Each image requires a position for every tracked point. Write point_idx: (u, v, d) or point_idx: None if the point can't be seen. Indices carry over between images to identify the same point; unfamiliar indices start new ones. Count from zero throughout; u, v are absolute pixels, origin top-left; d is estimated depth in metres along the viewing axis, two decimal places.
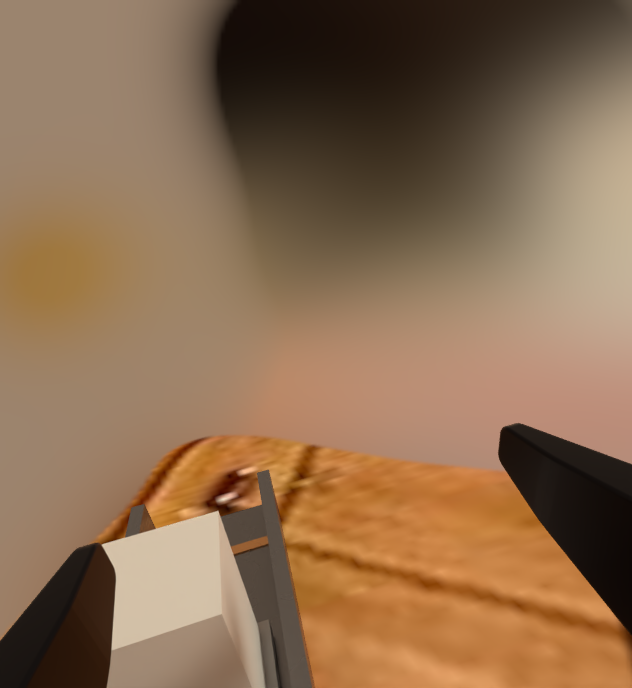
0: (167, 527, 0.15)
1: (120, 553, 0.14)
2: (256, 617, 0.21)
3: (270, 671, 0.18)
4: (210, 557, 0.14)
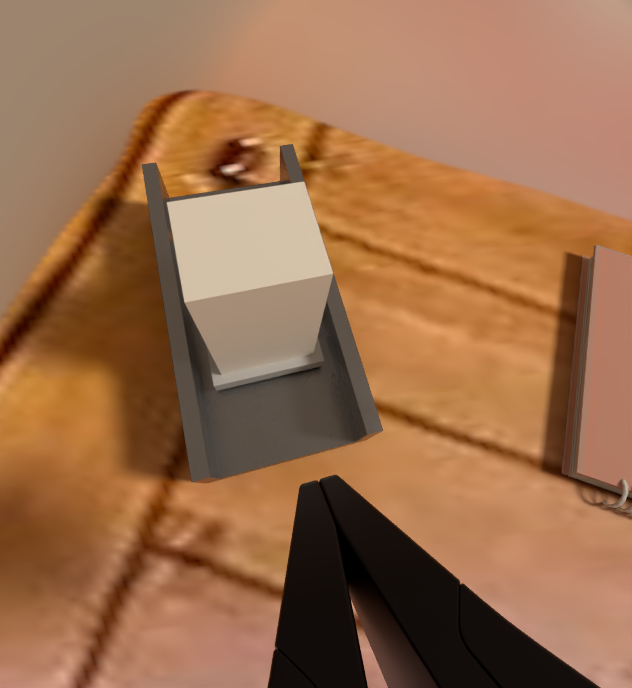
0: (253, 191, 0.14)
1: (211, 211, 0.14)
2: None
3: None
4: (309, 225, 0.14)
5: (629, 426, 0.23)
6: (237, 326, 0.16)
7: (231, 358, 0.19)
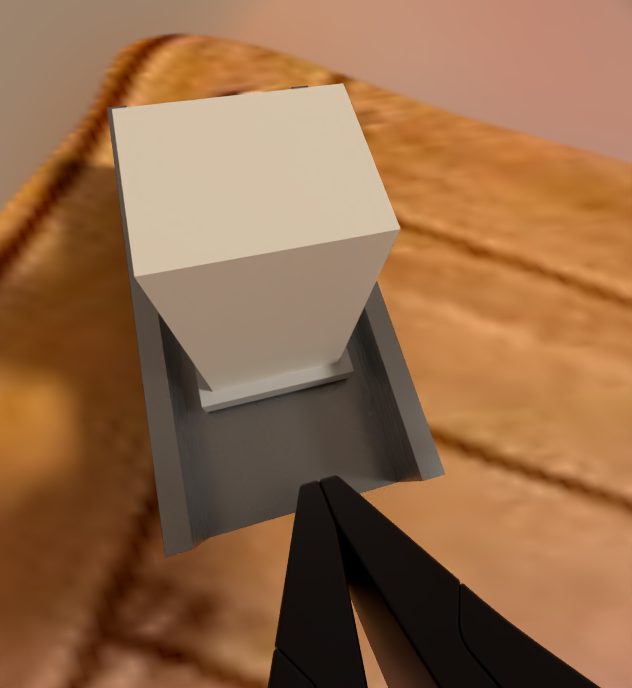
0: (259, 95, 0.09)
1: (187, 124, 0.08)
2: None
3: None
4: (354, 151, 0.08)
5: None
6: (234, 322, 0.10)
7: (225, 369, 0.13)
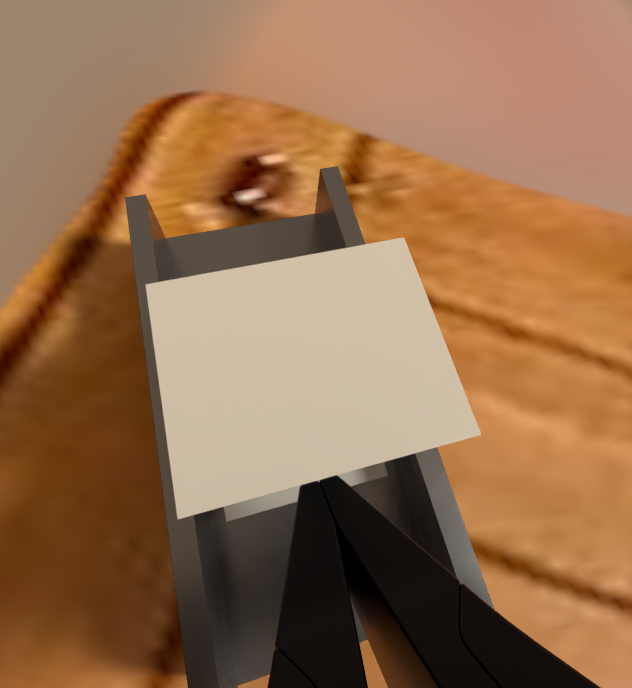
0: (311, 258, 0.08)
1: (231, 301, 0.07)
2: None
3: None
4: (421, 328, 0.07)
5: None
6: None
7: None
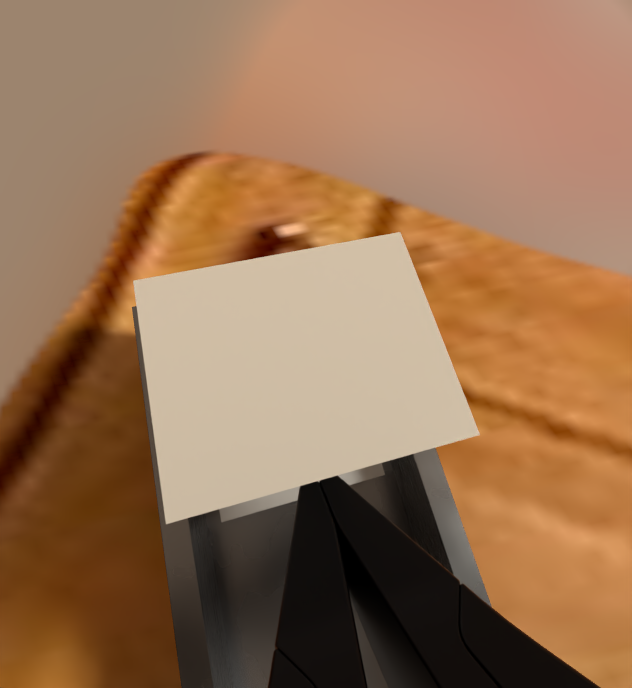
0: (304, 253, 0.07)
1: (222, 297, 0.07)
2: None
3: None
4: (418, 325, 0.07)
5: None
6: None
7: None
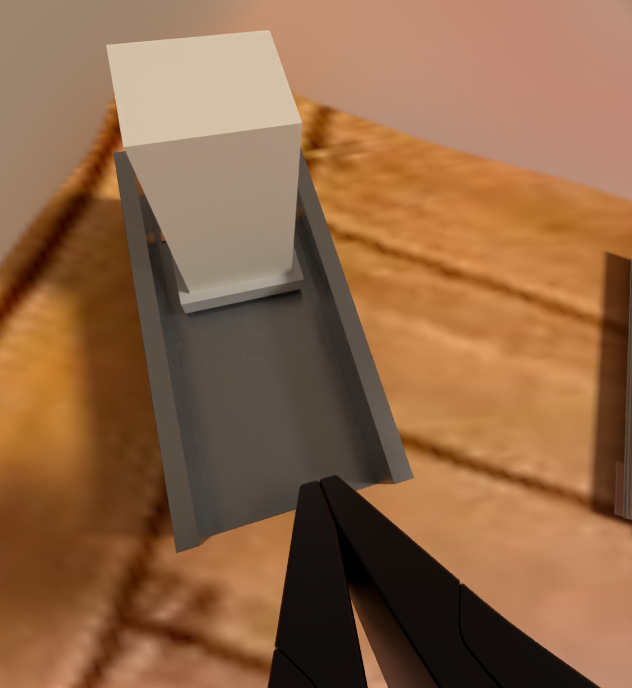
0: (209, 37, 0.12)
1: (158, 55, 0.12)
2: None
3: None
4: (274, 74, 0.12)
5: None
6: (197, 206, 0.14)
7: (197, 264, 0.17)
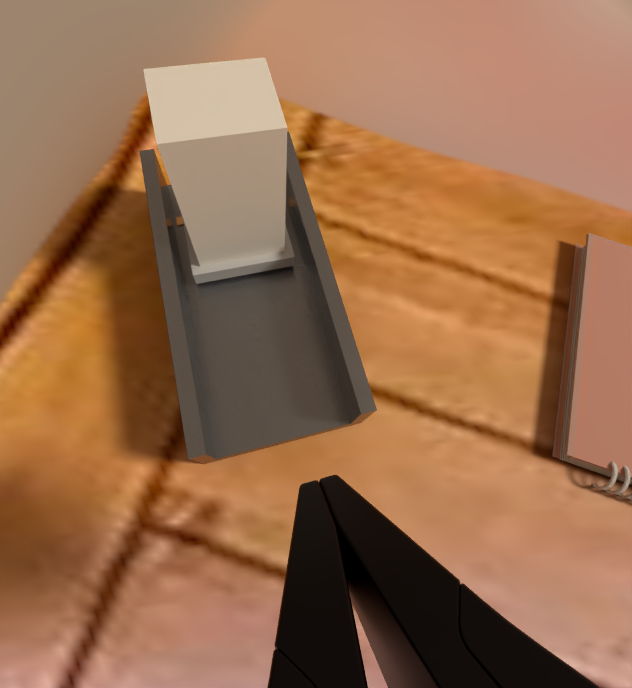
0: (219, 63, 0.16)
1: (181, 76, 0.16)
2: None
3: None
4: (267, 91, 0.16)
5: (619, 410, 0.23)
6: (208, 191, 0.18)
7: (206, 240, 0.21)
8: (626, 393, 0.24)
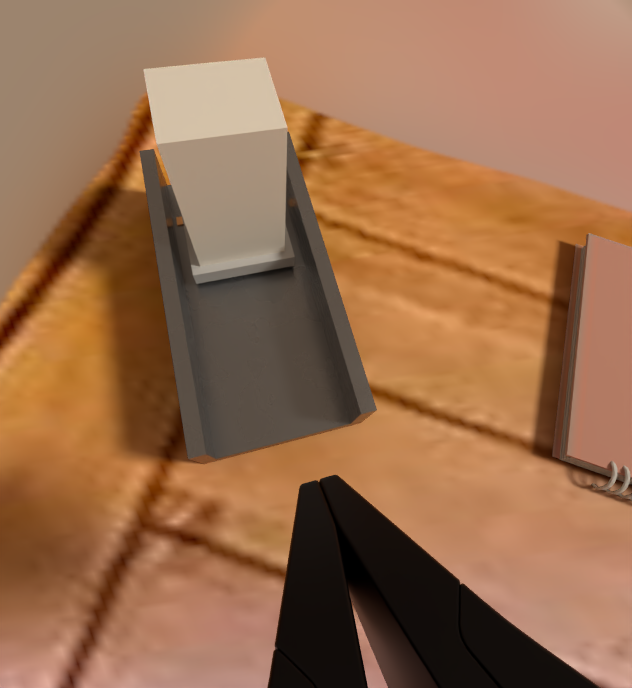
0: (219, 63, 0.16)
1: (181, 76, 0.16)
2: None
3: None
4: (267, 91, 0.16)
5: (619, 410, 0.23)
6: (208, 191, 0.18)
7: (206, 240, 0.21)
8: (626, 393, 0.24)
